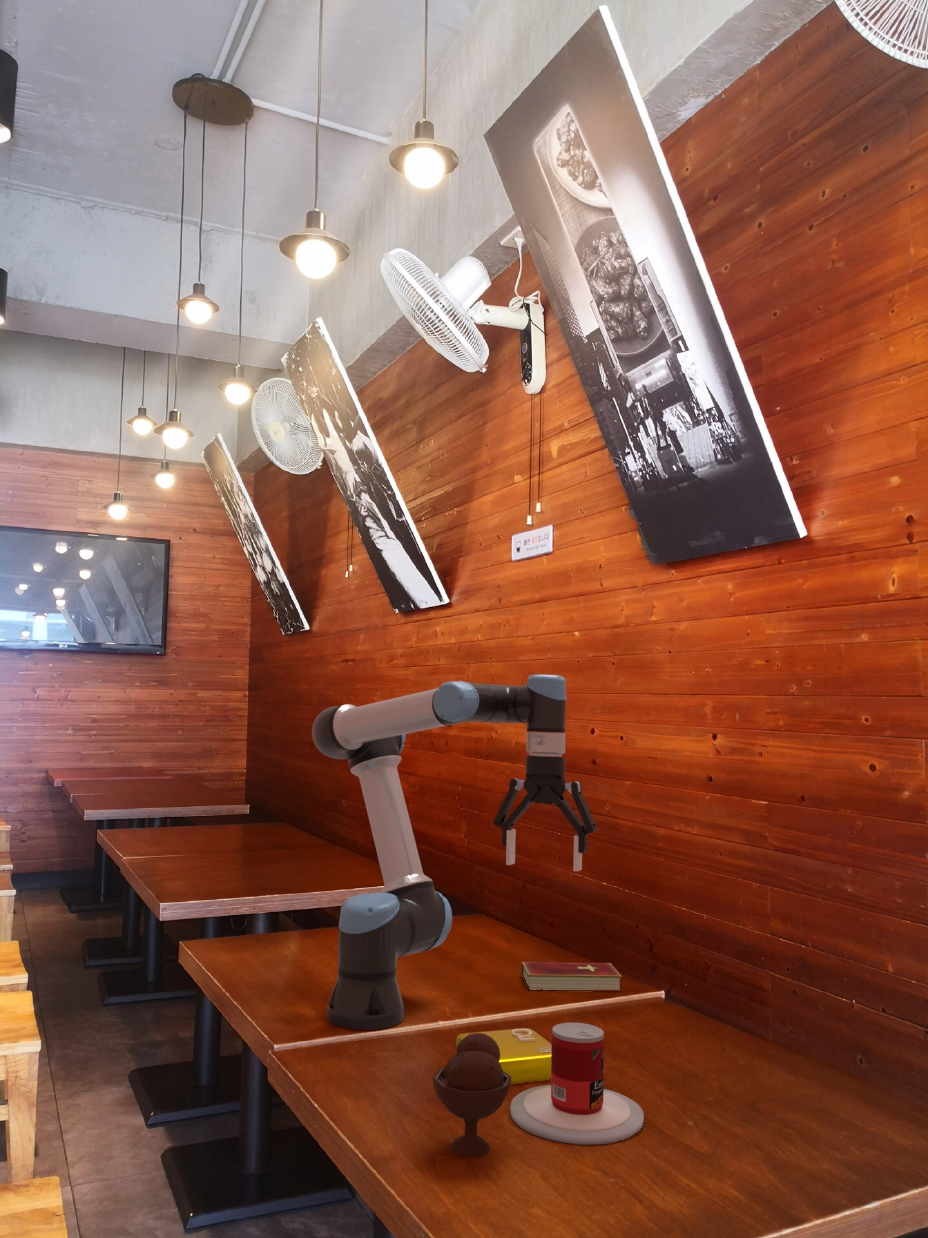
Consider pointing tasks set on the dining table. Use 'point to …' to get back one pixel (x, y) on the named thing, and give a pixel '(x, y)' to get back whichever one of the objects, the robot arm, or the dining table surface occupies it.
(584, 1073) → the canned food
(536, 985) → the hardcover book
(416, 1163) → the dining table surface
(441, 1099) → the ice cream bowl
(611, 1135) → the dish
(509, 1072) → the element tile
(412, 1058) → the dining table surface
